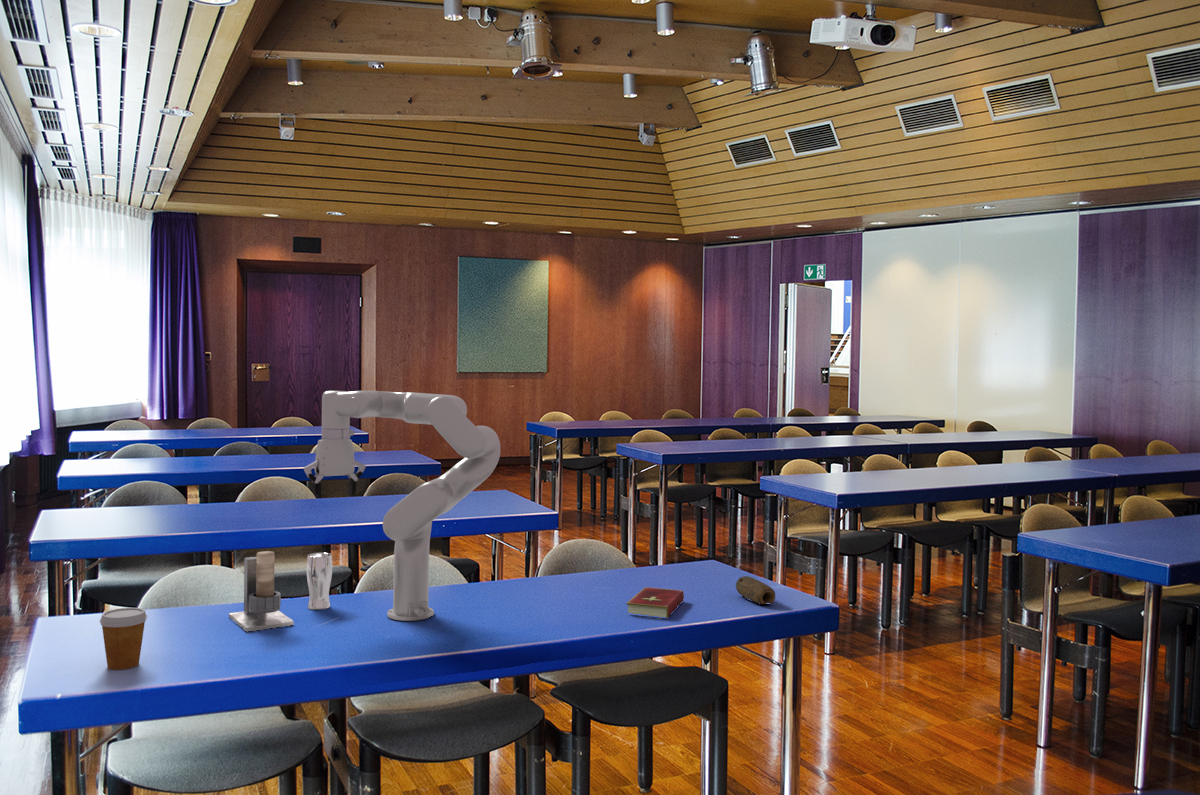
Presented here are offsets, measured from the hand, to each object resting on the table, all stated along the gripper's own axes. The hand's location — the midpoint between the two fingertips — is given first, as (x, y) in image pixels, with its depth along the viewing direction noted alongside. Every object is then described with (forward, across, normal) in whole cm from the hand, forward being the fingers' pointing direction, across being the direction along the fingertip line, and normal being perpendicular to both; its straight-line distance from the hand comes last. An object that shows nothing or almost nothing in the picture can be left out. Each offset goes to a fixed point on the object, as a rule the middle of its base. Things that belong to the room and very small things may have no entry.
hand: (334, 496), depth 253 cm
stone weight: (+33, -110, +56) cm, 128 cm away
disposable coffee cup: (+32, +56, +21) cm, 68 cm away
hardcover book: (+33, -79, +46) cm, 97 cm away
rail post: (+27, +20, +4) cm, 34 cm away
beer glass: (+32, +2, -6) cm, 33 cm away
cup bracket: (+32, +20, 0) cm, 38 cm away
